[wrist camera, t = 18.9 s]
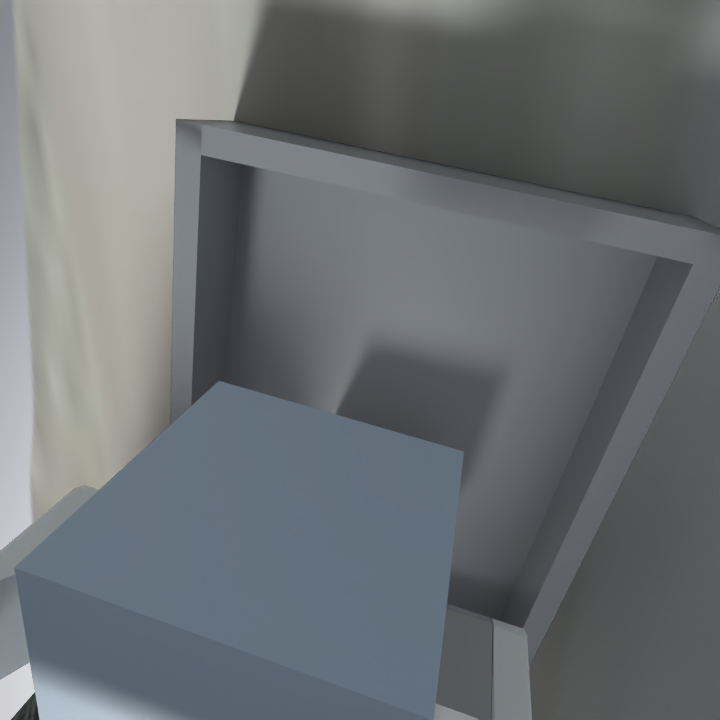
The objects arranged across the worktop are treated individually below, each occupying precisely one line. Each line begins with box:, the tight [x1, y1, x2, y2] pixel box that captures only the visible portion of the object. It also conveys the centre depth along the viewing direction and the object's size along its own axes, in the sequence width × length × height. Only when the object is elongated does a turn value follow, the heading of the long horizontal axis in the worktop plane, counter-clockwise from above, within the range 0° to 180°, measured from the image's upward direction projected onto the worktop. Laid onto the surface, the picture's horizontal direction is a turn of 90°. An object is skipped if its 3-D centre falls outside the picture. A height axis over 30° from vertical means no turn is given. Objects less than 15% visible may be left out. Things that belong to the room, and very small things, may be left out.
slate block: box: [14, 381, 464, 720], centre depth 8 cm, size 4×4×4 cm
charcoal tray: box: [170, 119, 720, 667], centre depth 19 cm, size 19×15×4 cm
